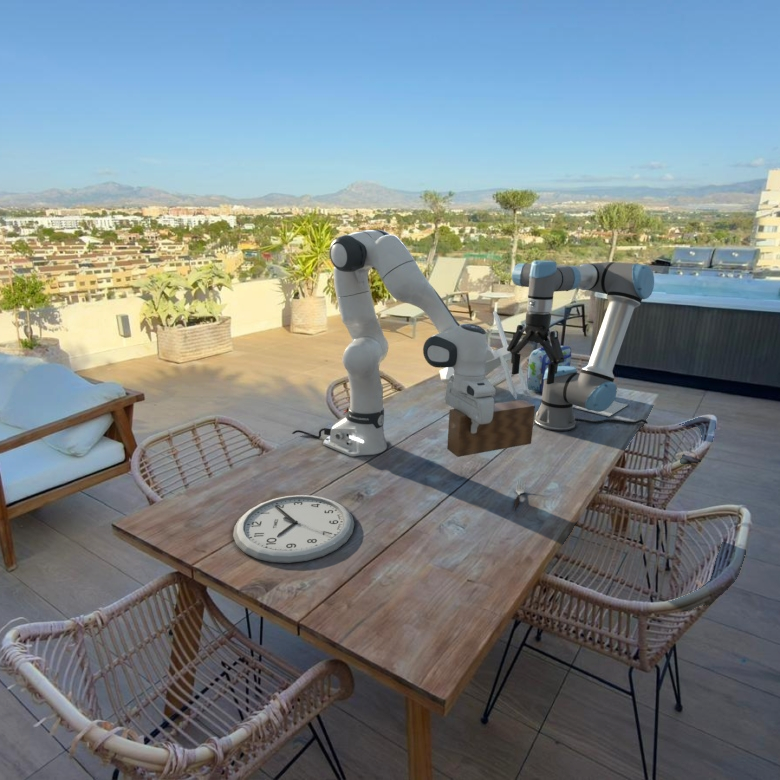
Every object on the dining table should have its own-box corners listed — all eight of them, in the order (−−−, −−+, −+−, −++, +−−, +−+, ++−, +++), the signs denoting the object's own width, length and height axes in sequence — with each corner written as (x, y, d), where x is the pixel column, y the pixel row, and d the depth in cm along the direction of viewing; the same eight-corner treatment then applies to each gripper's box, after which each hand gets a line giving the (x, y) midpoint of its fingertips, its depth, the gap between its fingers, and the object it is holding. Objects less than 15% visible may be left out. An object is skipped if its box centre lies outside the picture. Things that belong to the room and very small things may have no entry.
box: (518, 436, 165) (522, 399, 161) (531, 443, 160) (535, 405, 156) (447, 448, 155) (449, 409, 151) (457, 457, 149) (460, 416, 146)
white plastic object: (461, 429, 252) (437, 405, 227) (444, 352, 274) (420, 323, 250) (535, 404, 240) (518, 377, 215) (510, 326, 262) (492, 293, 237)
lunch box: (543, 396, 238) (548, 352, 231) (522, 391, 245) (526, 347, 239) (570, 385, 255) (575, 343, 249) (550, 381, 262) (555, 340, 256)
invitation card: (608, 416, 214) (573, 407, 224) (608, 416, 214) (573, 408, 224) (628, 404, 229) (594, 396, 238) (628, 405, 229) (594, 397, 238)
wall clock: (355, 554, 119) (220, 559, 116) (355, 560, 119) (221, 565, 117) (353, 490, 147) (244, 493, 145) (353, 495, 148) (245, 498, 145)
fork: (509, 511, 141) (510, 504, 140) (517, 485, 155) (517, 479, 155) (519, 513, 140) (520, 506, 139) (526, 487, 154) (526, 481, 154)
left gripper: (441, 373, 155) (438, 417, 159) (479, 393, 137) (475, 442, 141) (459, 371, 158) (456, 415, 162) (499, 391, 140) (495, 439, 144)
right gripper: (499, 308, 168) (494, 371, 174) (567, 319, 149) (558, 390, 156) (514, 306, 173) (509, 368, 179) (581, 316, 154) (573, 385, 160)
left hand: (465, 428), depth 151 cm, fingers closed on box, 6 cm apart
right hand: (532, 378), depth 167 cm, fingers open, 13 cm apart
